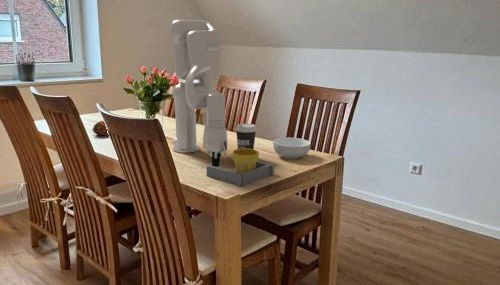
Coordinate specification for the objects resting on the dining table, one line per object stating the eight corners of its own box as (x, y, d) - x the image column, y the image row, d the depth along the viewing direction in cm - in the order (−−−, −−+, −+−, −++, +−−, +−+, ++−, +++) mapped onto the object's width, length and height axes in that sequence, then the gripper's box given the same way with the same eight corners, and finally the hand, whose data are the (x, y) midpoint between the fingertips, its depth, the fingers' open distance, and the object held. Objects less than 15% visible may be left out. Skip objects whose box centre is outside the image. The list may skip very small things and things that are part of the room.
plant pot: (263, 177, 172) (263, 153, 170) (239, 181, 168) (239, 156, 165) (250, 170, 181) (251, 147, 179) (227, 173, 176) (228, 149, 174)
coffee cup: (234, 155, 202) (234, 123, 198) (255, 154, 203) (255, 123, 199) (235, 161, 193) (235, 127, 189) (257, 160, 194) (257, 127, 190)
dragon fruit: (102, 141, 230) (100, 139, 241) (114, 130, 232) (112, 129, 243) (90, 128, 227) (89, 127, 238) (103, 118, 229) (101, 117, 240)
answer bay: (205, 176, 172) (205, 166, 171) (238, 164, 188) (238, 155, 187) (242, 187, 161) (242, 176, 160) (275, 173, 177) (275, 164, 176)
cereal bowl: (279, 162, 192) (280, 147, 190) (268, 152, 207) (268, 138, 206) (315, 160, 196) (316, 145, 194) (301, 150, 212) (302, 136, 210)
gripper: (195, 122, 180) (196, 164, 184) (223, 127, 171) (222, 172, 175) (208, 119, 185) (208, 161, 190) (235, 124, 176) (235, 168, 181)
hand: (215, 166), depth 183 cm, fingers closed
